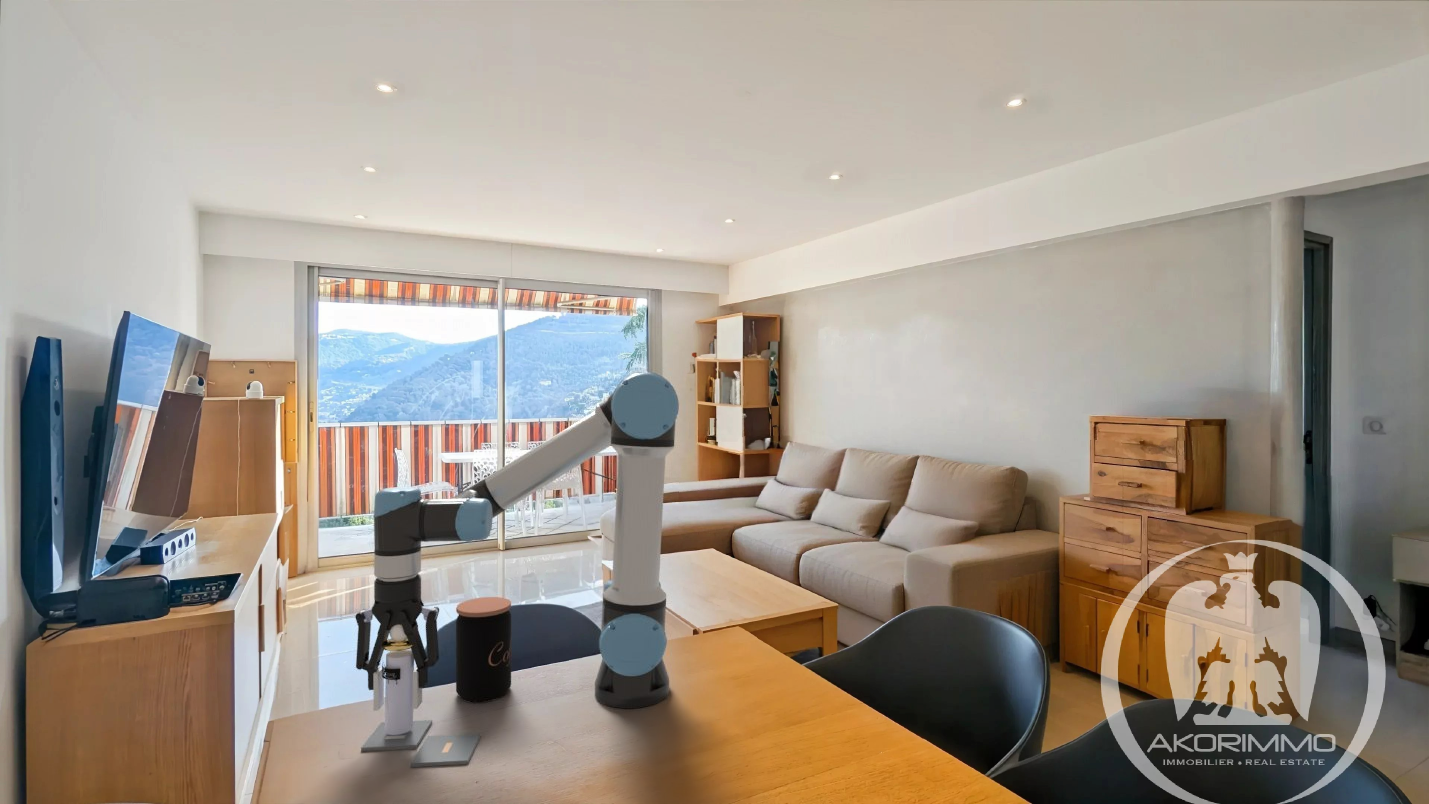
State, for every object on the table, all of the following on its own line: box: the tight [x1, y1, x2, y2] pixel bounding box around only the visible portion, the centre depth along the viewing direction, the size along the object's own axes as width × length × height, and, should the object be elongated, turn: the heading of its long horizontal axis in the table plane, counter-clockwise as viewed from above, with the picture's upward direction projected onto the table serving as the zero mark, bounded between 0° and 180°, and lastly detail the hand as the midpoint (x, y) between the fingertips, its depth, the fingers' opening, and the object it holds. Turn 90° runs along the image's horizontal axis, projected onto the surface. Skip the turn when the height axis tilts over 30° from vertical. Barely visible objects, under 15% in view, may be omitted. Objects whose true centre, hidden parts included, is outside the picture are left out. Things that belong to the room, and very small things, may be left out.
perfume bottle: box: [381, 625, 415, 735], centre depth 121 cm, size 6×6×20 cm
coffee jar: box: [455, 596, 512, 704], centre depth 139 cm, size 11×11×18 cm
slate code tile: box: [360, 719, 433, 752], centre depth 121 cm, size 9×9×1 cm
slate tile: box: [410, 732, 482, 768], centre depth 116 cm, size 9×9×1 cm
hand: (398, 705), depth 121 cm, fingers open, 6 cm apart
